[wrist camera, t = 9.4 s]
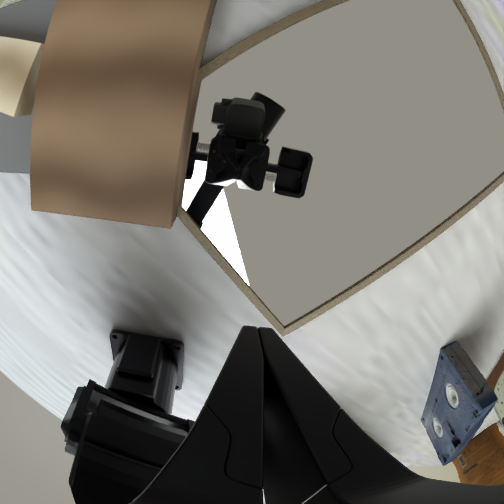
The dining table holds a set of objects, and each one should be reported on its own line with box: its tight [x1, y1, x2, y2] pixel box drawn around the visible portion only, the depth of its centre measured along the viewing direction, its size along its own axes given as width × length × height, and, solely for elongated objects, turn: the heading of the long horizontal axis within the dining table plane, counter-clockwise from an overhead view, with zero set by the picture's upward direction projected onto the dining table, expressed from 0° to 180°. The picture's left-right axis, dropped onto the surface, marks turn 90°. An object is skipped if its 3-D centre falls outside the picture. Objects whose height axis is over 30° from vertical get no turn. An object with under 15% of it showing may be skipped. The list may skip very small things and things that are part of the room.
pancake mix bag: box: [452, 423, 504, 485], centre depth 37 cm, size 7×19×28 cm, turn 127°
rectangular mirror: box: [177, 0, 504, 336], centre depth 17 cm, size 19×1×28 cm
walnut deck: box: [30, 0, 217, 229], centre depth 14 cm, size 16×10×2 cm, turn 169°
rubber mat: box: [0, 0, 57, 173], centre depth 13 cm, size 14×9×1 cm, turn 169°
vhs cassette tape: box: [421, 342, 498, 466], centre depth 27 cm, size 18×3×10 cm, turn 15°
